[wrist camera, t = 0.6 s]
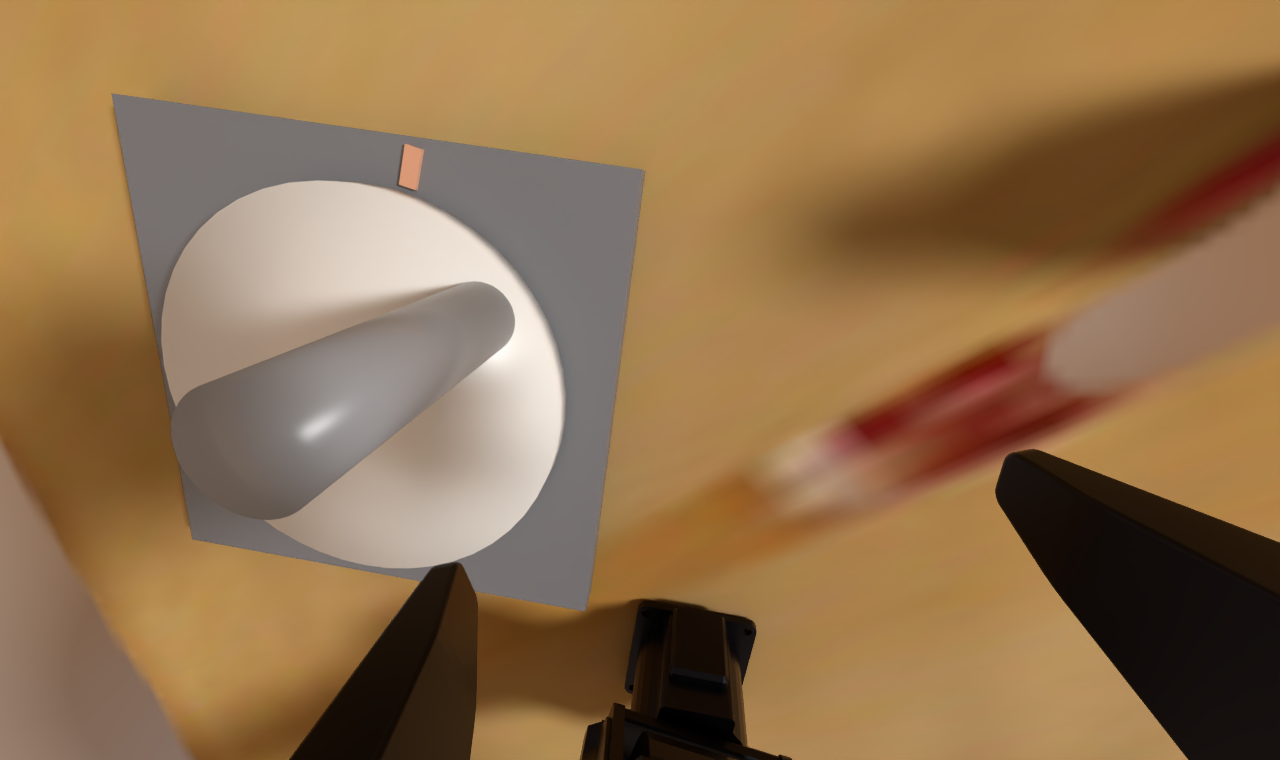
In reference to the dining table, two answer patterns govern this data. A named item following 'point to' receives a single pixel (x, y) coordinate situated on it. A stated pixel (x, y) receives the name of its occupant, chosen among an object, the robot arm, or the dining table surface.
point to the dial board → (489, 203)
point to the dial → (360, 374)
